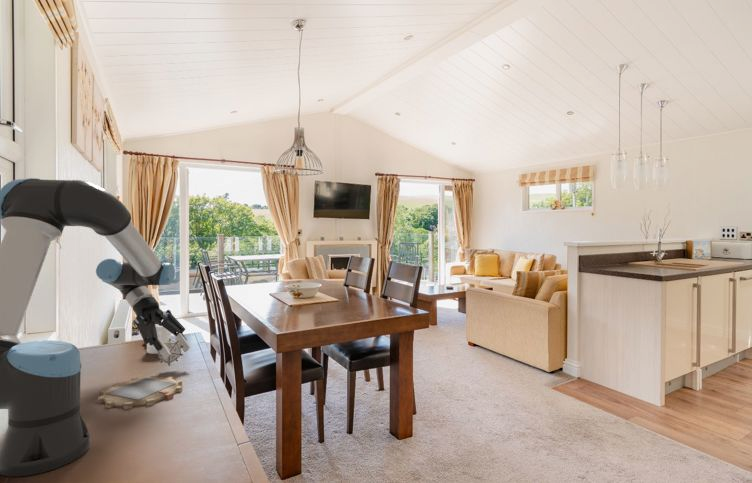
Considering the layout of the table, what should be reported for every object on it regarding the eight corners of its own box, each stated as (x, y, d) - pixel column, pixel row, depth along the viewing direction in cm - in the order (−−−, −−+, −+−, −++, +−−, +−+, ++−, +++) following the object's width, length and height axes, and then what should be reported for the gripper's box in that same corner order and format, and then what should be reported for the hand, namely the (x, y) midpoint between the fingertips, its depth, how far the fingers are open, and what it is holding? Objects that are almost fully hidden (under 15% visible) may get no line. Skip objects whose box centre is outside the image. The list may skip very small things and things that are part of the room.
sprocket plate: (137, 414, 104) (137, 408, 104) (79, 401, 111) (79, 396, 111) (198, 385, 125) (198, 380, 125) (145, 376, 131) (145, 371, 131)
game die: (175, 373, 138) (193, 351, 137) (152, 370, 131) (170, 347, 131) (168, 356, 143) (185, 334, 143) (145, 352, 137) (163, 329, 136)
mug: (145, 358, 150) (145, 329, 150) (147, 349, 160) (147, 323, 160) (171, 355, 154) (171, 327, 153) (171, 347, 164) (171, 321, 164)
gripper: (161, 305, 152) (194, 352, 147) (109, 314, 132) (145, 369, 127) (172, 291, 150) (206, 339, 145) (121, 299, 131) (159, 354, 126)
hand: (178, 353), depth 136 cm, fingers closed on game die, 8 cm apart
